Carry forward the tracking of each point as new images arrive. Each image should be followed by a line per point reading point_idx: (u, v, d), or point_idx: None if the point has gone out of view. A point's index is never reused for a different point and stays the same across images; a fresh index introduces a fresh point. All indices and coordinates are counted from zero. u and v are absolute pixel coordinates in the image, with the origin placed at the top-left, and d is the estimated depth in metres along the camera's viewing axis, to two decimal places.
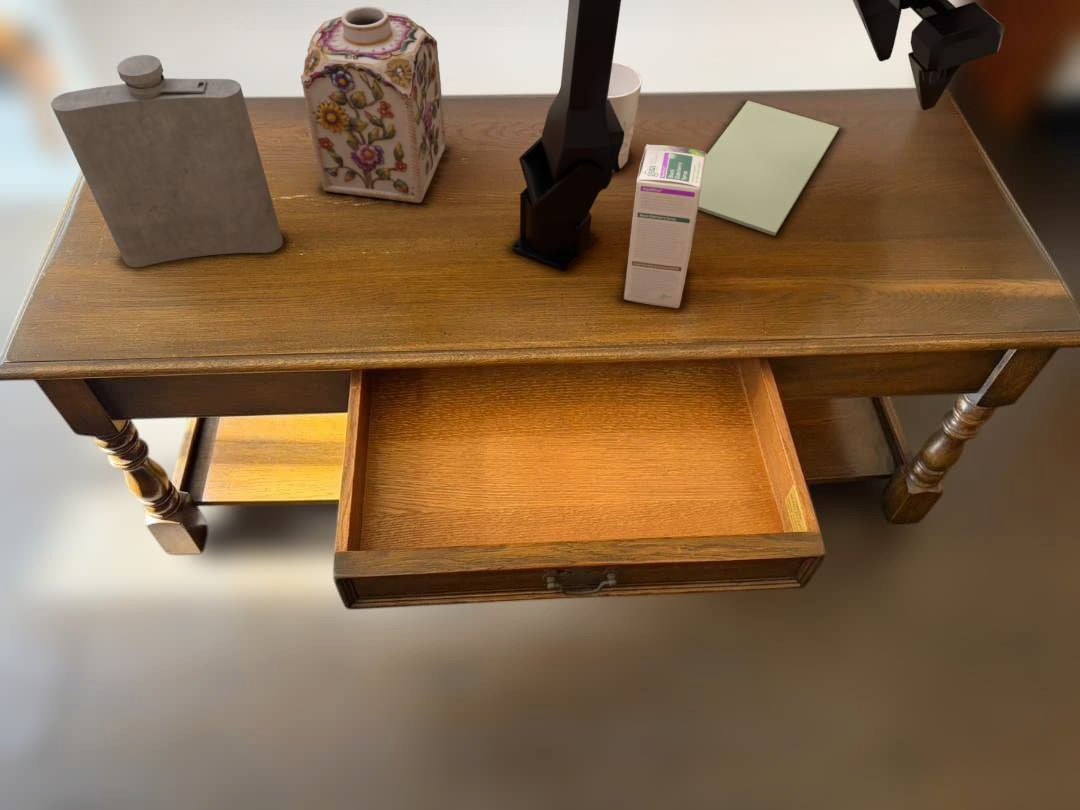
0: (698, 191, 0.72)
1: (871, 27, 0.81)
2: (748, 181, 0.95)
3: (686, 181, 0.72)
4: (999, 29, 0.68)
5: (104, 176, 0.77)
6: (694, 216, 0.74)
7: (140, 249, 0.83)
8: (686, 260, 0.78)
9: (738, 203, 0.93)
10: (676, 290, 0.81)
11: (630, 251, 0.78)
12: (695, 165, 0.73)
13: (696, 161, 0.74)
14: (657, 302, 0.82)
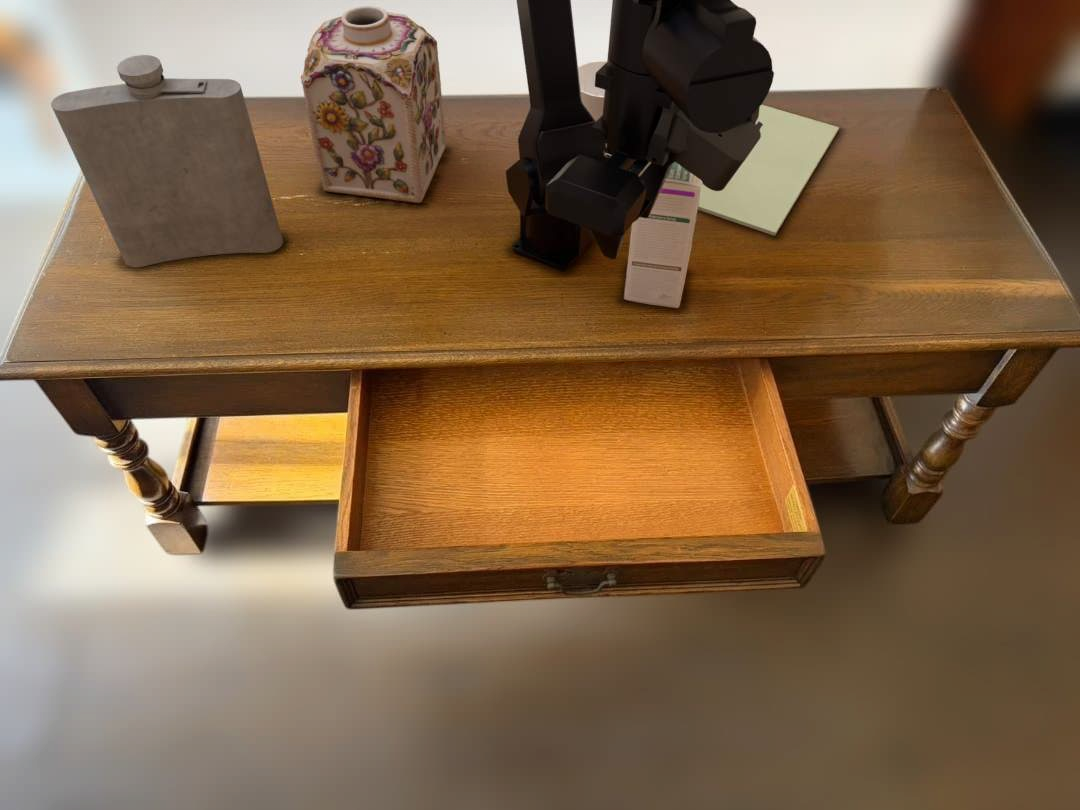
0: (698, 191, 0.72)
1: None
2: (748, 181, 0.95)
3: (686, 181, 0.72)
4: (615, 211, 0.56)
5: (104, 176, 0.77)
6: (694, 216, 0.74)
7: (140, 249, 0.83)
8: (686, 260, 0.78)
9: (738, 203, 0.93)
10: (676, 290, 0.81)
11: (630, 251, 0.78)
12: None
13: None
14: (657, 302, 0.82)
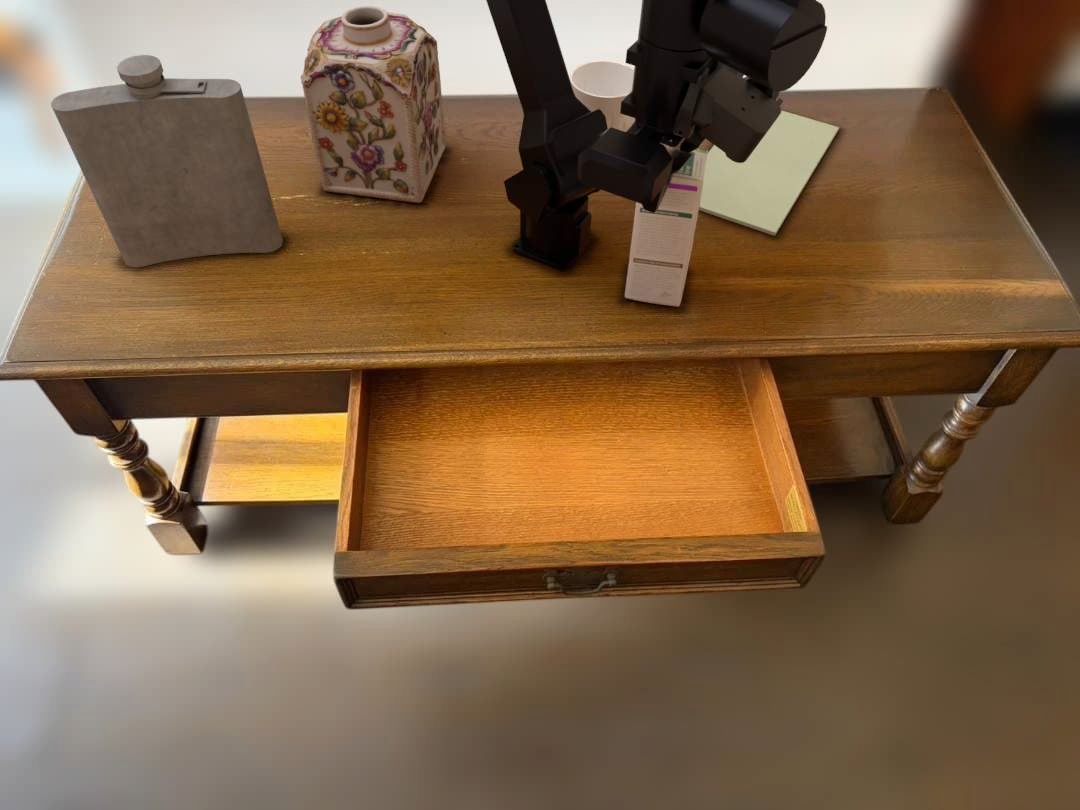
0: (701, 185, 0.72)
1: None
2: (748, 181, 0.95)
3: (689, 176, 0.72)
4: (644, 178, 0.60)
5: (104, 176, 0.77)
6: (696, 211, 0.74)
7: (140, 249, 0.83)
8: (688, 257, 0.78)
9: (738, 203, 0.93)
10: (677, 288, 0.81)
11: (632, 247, 0.78)
12: (697, 161, 0.74)
13: (698, 157, 0.74)
14: (658, 300, 0.82)
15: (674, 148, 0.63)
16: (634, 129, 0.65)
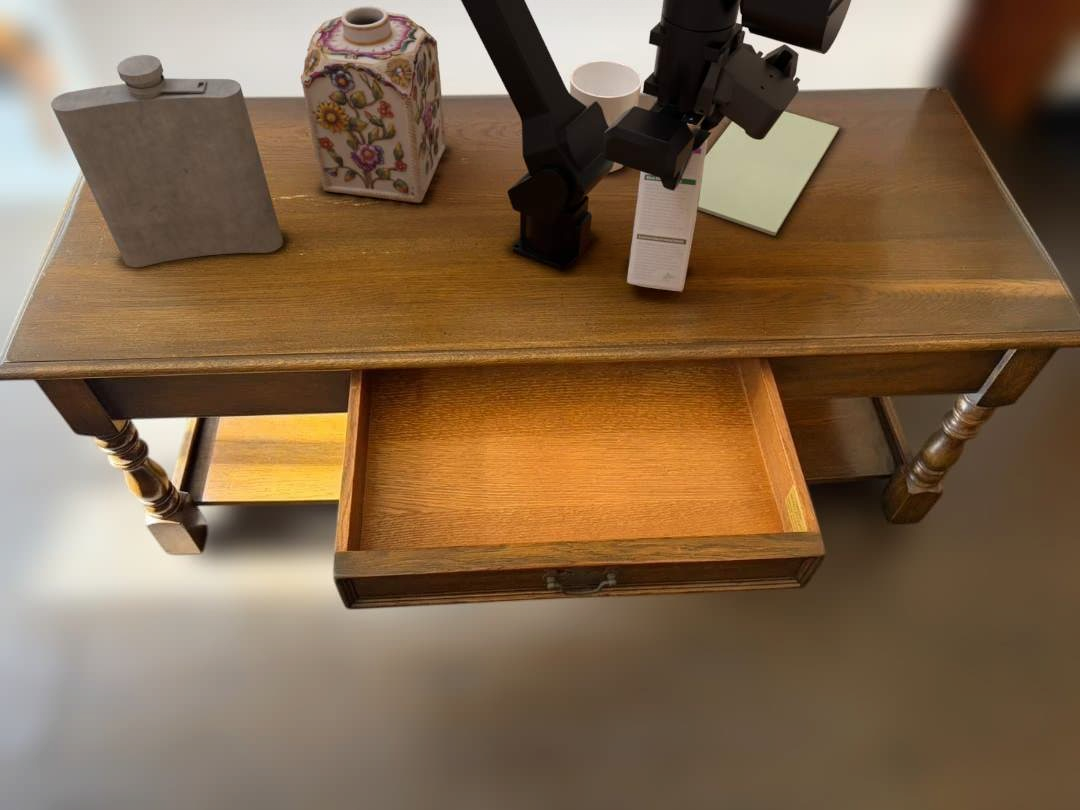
0: (704, 147, 0.74)
1: None
2: (748, 181, 0.95)
3: None
4: (667, 154, 0.62)
5: (104, 176, 0.77)
6: (700, 177, 0.75)
7: (140, 249, 0.83)
8: (691, 231, 0.78)
9: (738, 203, 0.93)
10: (680, 268, 0.80)
11: (635, 222, 0.78)
12: None
13: None
14: (661, 284, 0.81)
15: (695, 126, 0.66)
16: (657, 107, 0.67)
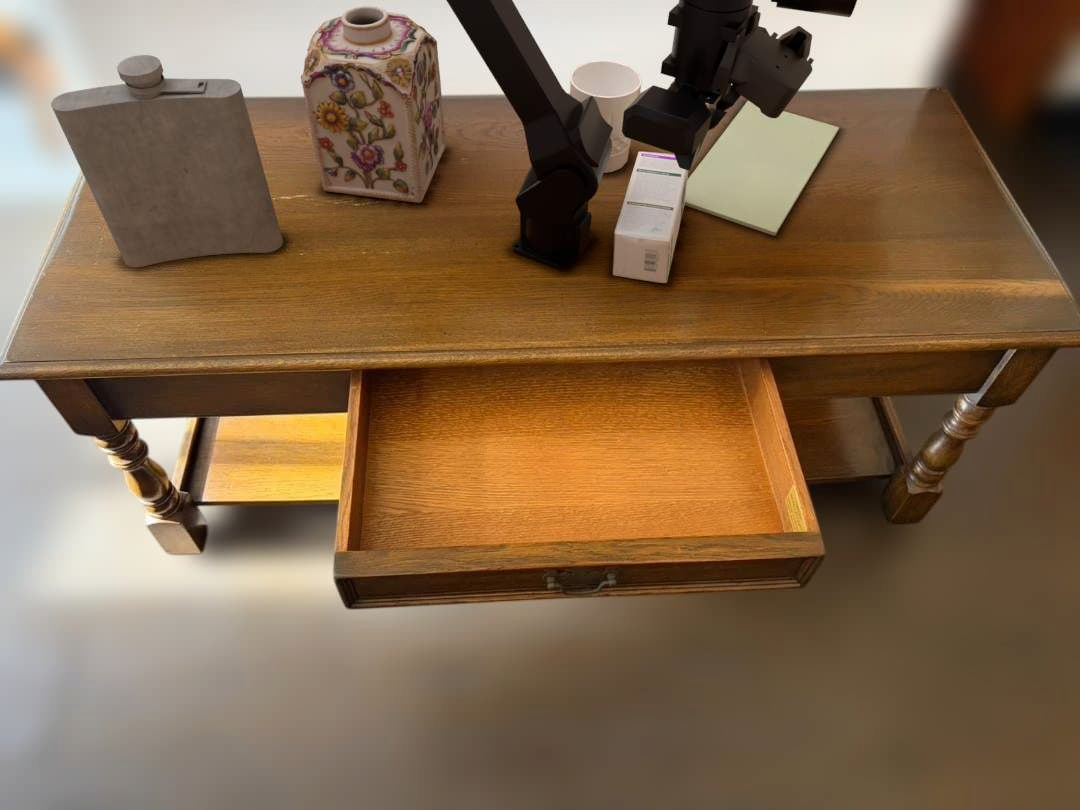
0: None
1: None
2: (748, 181, 0.95)
3: None
4: (686, 131, 0.64)
5: (104, 176, 0.77)
6: (685, 173, 0.87)
7: (140, 249, 0.83)
8: (678, 203, 0.84)
9: (738, 203, 0.93)
10: (668, 225, 0.82)
11: (626, 194, 0.85)
12: None
13: None
14: (648, 235, 0.81)
15: (711, 105, 0.68)
16: (674, 88, 0.69)
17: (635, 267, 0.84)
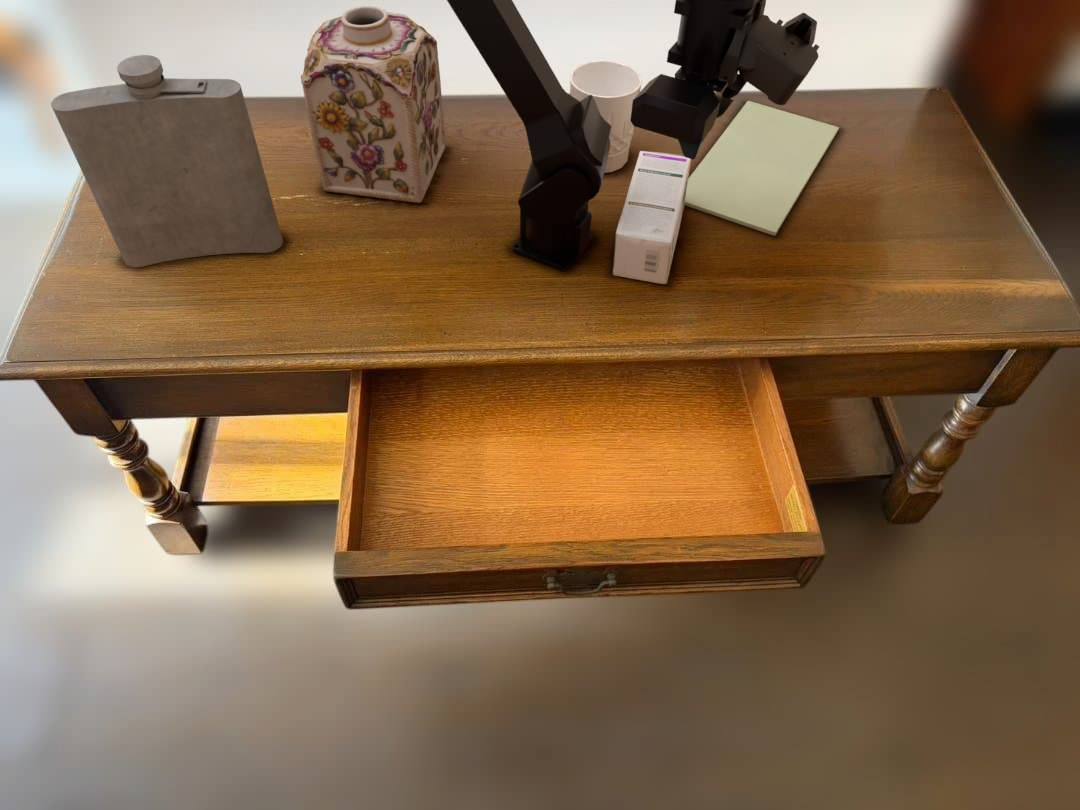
0: (689, 159, 0.88)
1: None
2: (748, 181, 0.95)
3: (679, 157, 0.89)
4: (696, 119, 0.64)
5: (104, 176, 0.77)
6: (686, 174, 0.87)
7: (140, 249, 0.83)
8: (679, 204, 0.84)
9: (738, 203, 0.93)
10: (669, 226, 0.82)
11: (628, 194, 0.85)
12: None
13: None
14: (649, 236, 0.81)
15: (719, 93, 0.68)
16: (681, 76, 0.69)
17: (636, 268, 0.84)
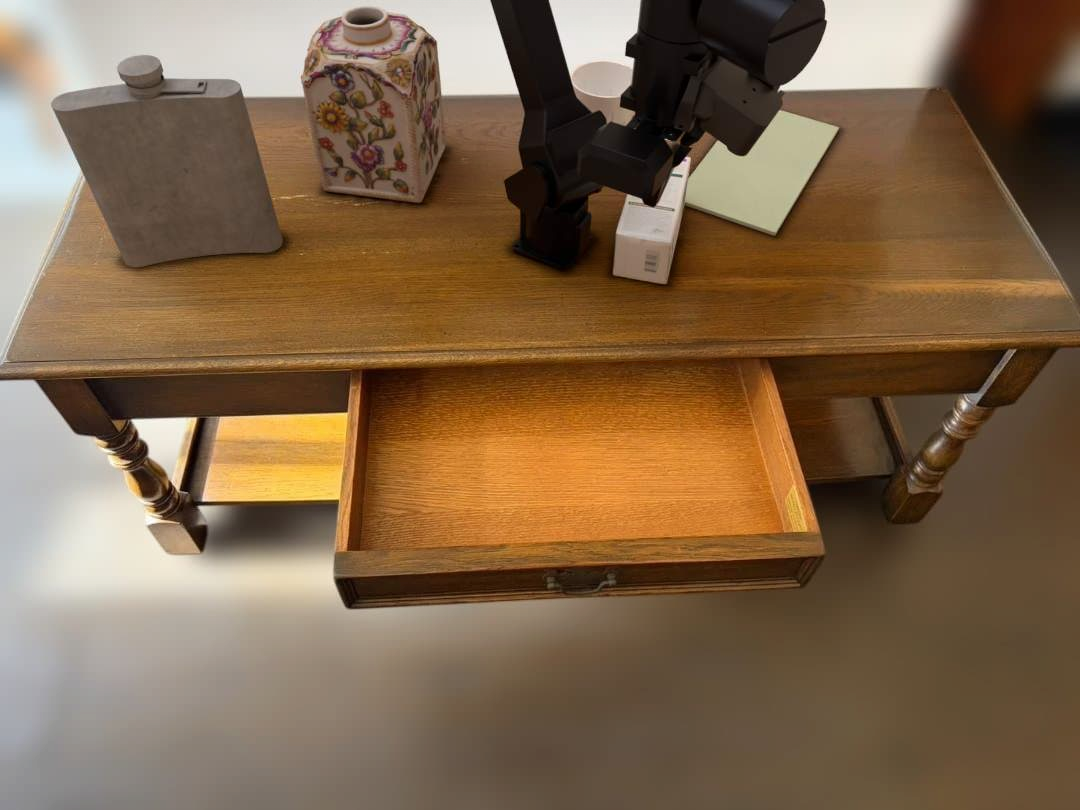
0: (689, 159, 0.88)
1: None
2: (748, 181, 0.95)
3: None
4: (645, 173, 0.59)
5: (104, 176, 0.77)
6: (686, 174, 0.87)
7: (140, 249, 0.83)
8: (679, 204, 0.84)
9: (738, 203, 0.93)
10: (669, 226, 0.82)
11: (628, 194, 0.85)
12: None
13: None
14: (649, 236, 0.81)
15: (674, 142, 0.63)
16: (634, 122, 0.64)
17: (636, 268, 0.84)
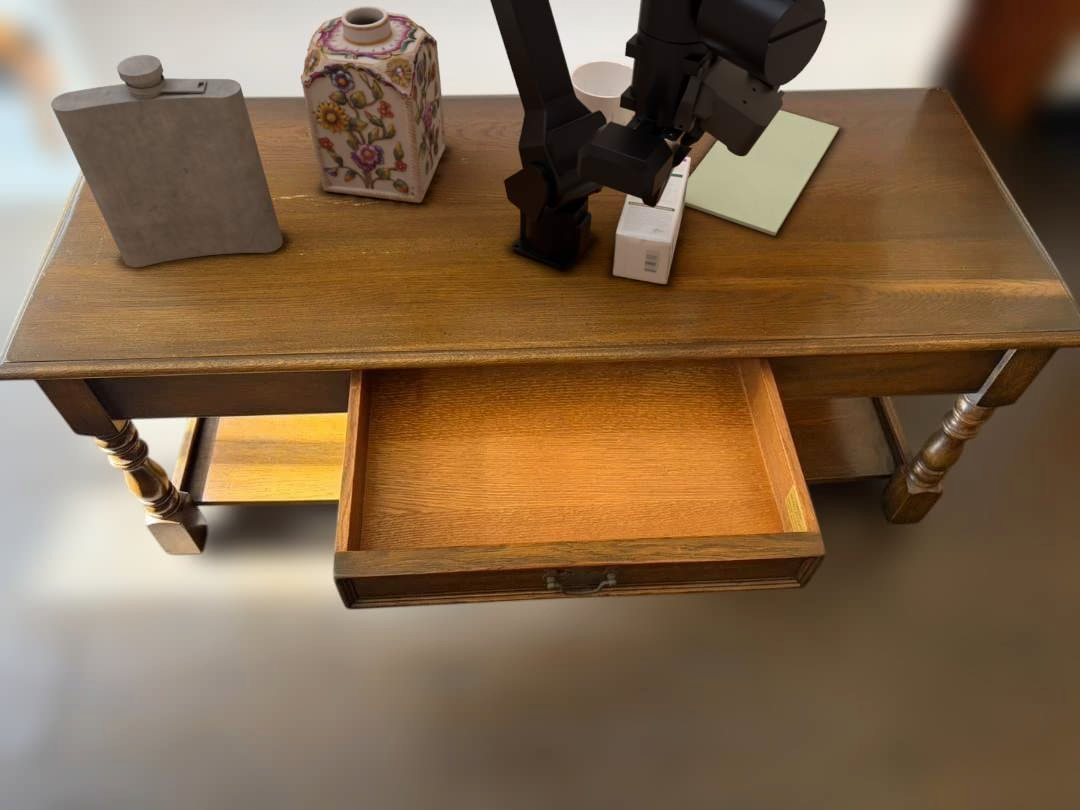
0: (689, 159, 0.88)
1: None
2: (748, 181, 0.95)
3: None
4: (645, 173, 0.59)
5: (104, 176, 0.77)
6: (686, 174, 0.87)
7: (140, 249, 0.83)
8: (679, 204, 0.84)
9: (738, 203, 0.93)
10: (669, 226, 0.82)
11: (628, 194, 0.85)
12: None
13: None
14: (649, 236, 0.81)
15: (674, 142, 0.63)
16: (634, 122, 0.64)
17: (636, 268, 0.84)
